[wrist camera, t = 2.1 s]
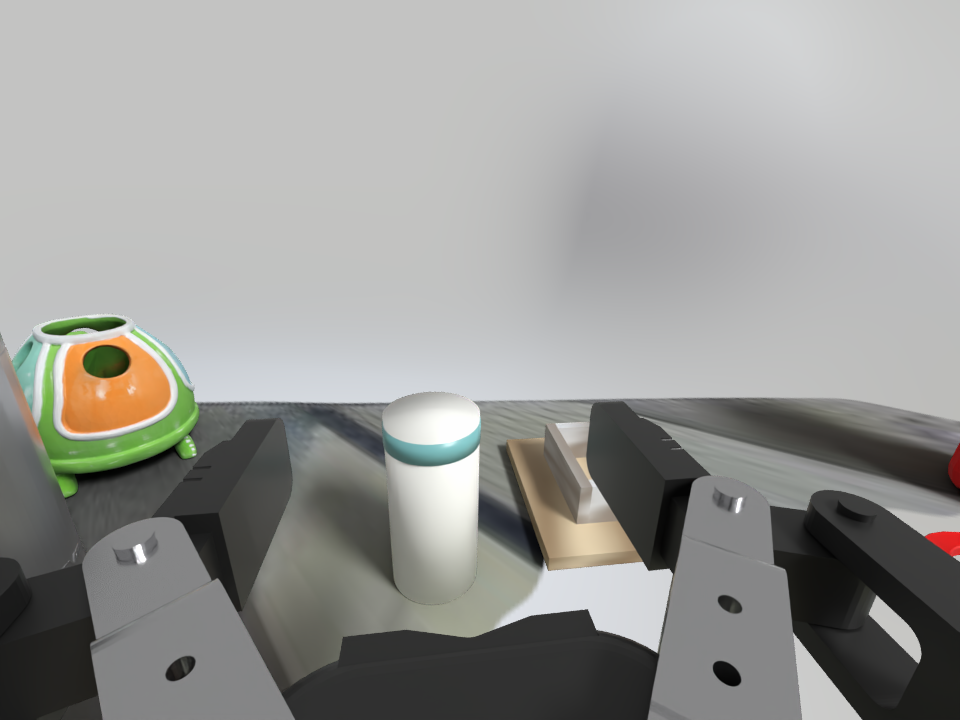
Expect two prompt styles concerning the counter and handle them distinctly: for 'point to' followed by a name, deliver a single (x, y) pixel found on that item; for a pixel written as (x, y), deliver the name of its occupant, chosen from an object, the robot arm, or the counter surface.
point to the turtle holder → (104, 395)
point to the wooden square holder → (567, 500)
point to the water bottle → (955, 468)
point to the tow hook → (946, 541)
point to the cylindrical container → (432, 494)
